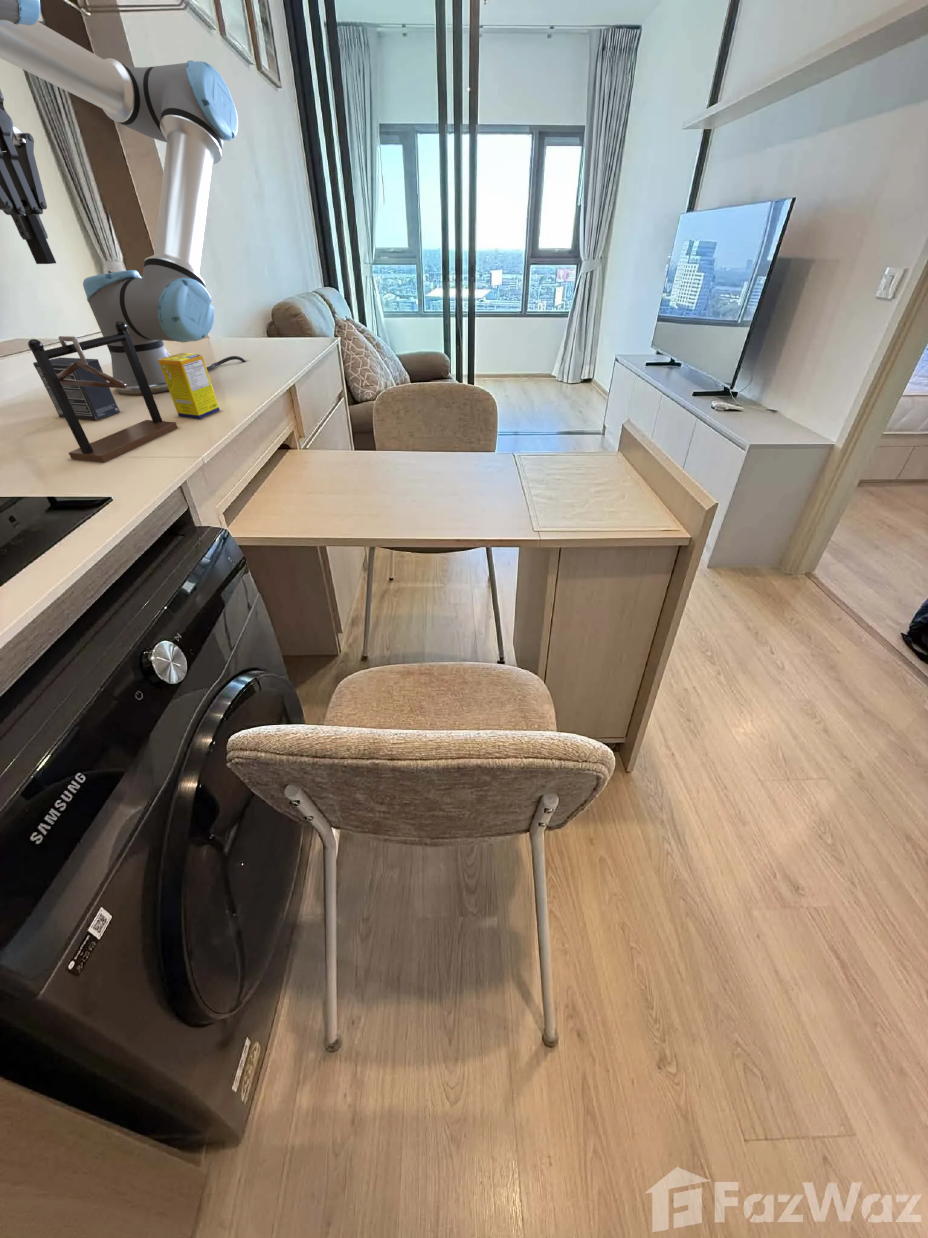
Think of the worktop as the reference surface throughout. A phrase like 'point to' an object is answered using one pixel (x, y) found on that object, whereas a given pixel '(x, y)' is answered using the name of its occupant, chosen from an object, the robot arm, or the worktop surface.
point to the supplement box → (189, 385)
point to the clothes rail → (87, 451)
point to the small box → (82, 391)
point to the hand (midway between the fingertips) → (46, 263)
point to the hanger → (84, 365)
